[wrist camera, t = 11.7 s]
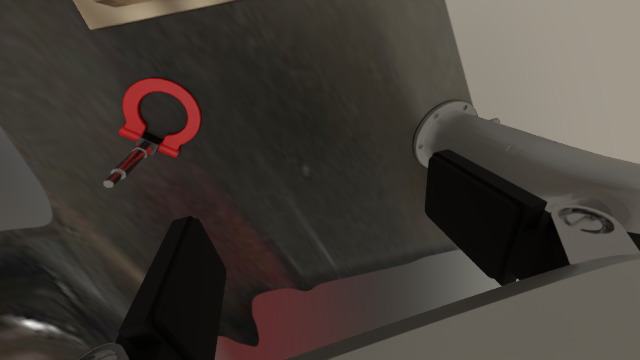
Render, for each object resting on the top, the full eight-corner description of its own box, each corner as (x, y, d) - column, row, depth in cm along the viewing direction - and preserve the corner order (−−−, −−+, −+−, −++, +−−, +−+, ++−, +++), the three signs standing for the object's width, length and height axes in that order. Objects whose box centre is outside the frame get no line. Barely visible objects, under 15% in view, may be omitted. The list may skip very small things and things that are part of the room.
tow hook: (141, 62, 28) (113, 129, 30) (78, 67, 17) (42, 171, 19) (212, 102, 32) (183, 159, 34) (198, 126, 21) (157, 208, 23)
